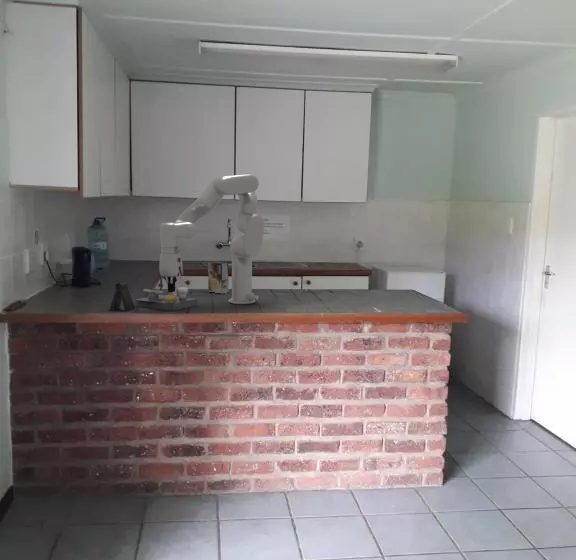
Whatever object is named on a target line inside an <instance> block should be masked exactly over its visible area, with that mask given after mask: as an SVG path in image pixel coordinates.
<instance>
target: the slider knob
mask: <svg viewBox="0 0 576 560" xmlns="http://www.w3.org/2000/svg"><path fill="white" fill-rule="evenodd" d="M166 288H167V294H166V295H175V296H176V297H178V296H177V295H178V287H177V286H175V292H168V286H167V287H166Z"/></svg>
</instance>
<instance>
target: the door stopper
mask: <svg viewBox="0 0 576 560" xmlns="http://www.w3.org/2000/svg"><path fill="white" fill-rule="evenodd" d="M114 288H115V291H114V295H113V298H112V302H111V305H110V307H109V311H113V312H115V311H116V312H130V311H132V310H135V309H136V306H135V303H134V302H133V298H132V296H131V293H130V290H129V283H128V282H127V281H121V282H117V283H116V284H115V287H114ZM121 304H123V306H122V307H121Z"/></svg>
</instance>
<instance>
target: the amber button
mask: <svg viewBox="0 0 576 560" xmlns="http://www.w3.org/2000/svg"><path fill="white" fill-rule="evenodd" d="M164 295H165V294H164ZM165 301H166V302H167V303H173V302H174V301H175V295H167V294H166V295H165Z"/></svg>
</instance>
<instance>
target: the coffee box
mask: <svg viewBox="0 0 576 560" xmlns="http://www.w3.org/2000/svg"><path fill="white" fill-rule="evenodd" d="M207 270H208V271H207V275H208V276H207V277H208V279H207V280H208V281H207V283H208V286H207V287H208V288H207V289H208V293H209V292H215V293H225V294H228V293H227V292H229V262H226V261H225V262H224V261H222V262H221V261H210V262H207ZM215 293H214V294H215Z"/></svg>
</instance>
